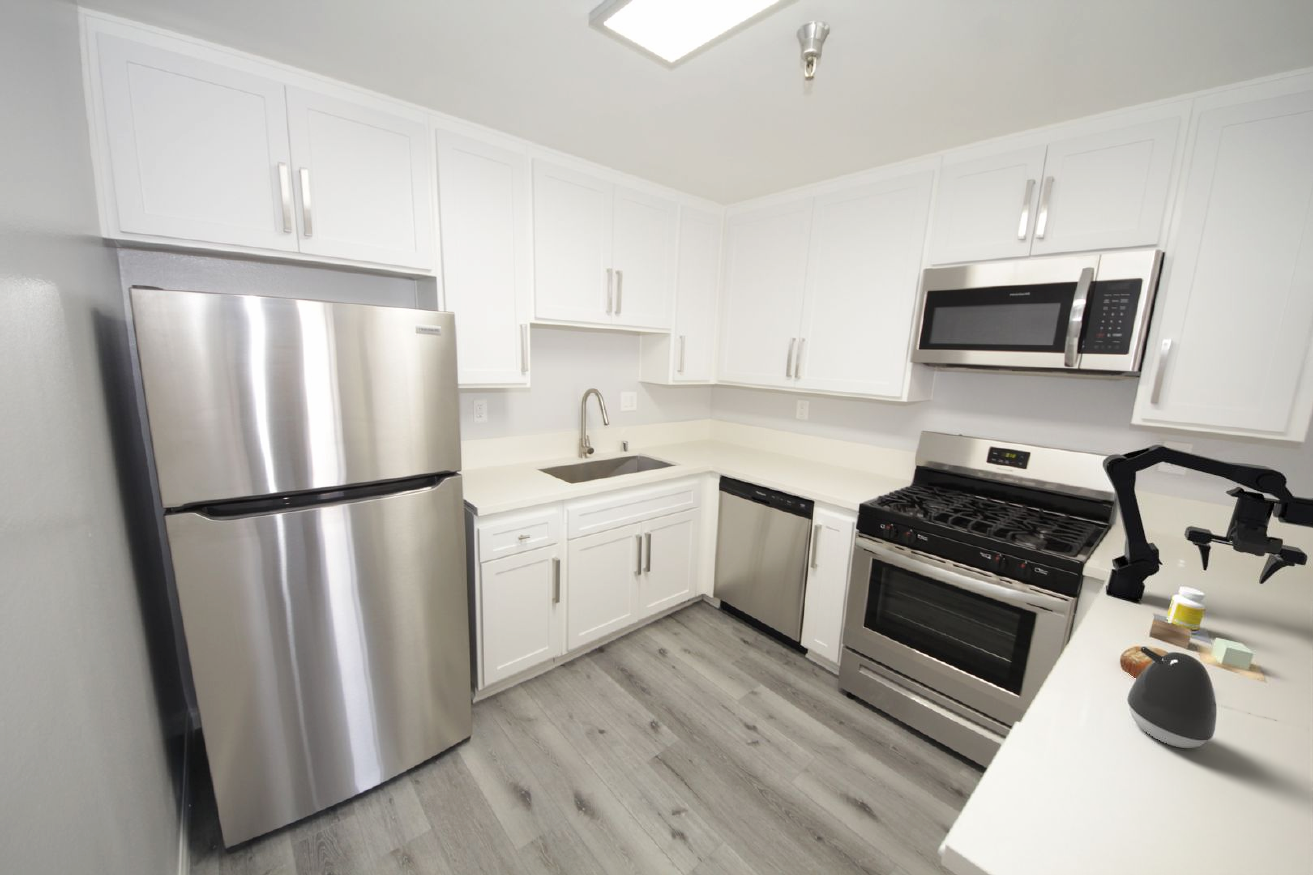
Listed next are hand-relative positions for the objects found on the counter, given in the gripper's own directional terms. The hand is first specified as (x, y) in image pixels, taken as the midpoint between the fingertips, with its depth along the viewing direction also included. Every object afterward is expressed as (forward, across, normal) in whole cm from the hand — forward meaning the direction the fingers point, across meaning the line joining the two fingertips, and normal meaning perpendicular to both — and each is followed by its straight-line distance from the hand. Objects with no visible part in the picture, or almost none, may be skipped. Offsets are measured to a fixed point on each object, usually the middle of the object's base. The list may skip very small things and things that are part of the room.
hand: (1231, 576), depth 120 cm
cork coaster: (+12, -2, -27) cm, 30 cm away
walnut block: (+12, -11, -25) cm, 30 cm away
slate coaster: (+12, -8, -15) cm, 21 cm away
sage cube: (+11, -2, -27) cm, 29 cm away
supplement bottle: (+12, -8, -15) cm, 21 cm away
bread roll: (+12, -14, -47) cm, 50 cm away
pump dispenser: (+12, -15, -67) cm, 70 cm away
